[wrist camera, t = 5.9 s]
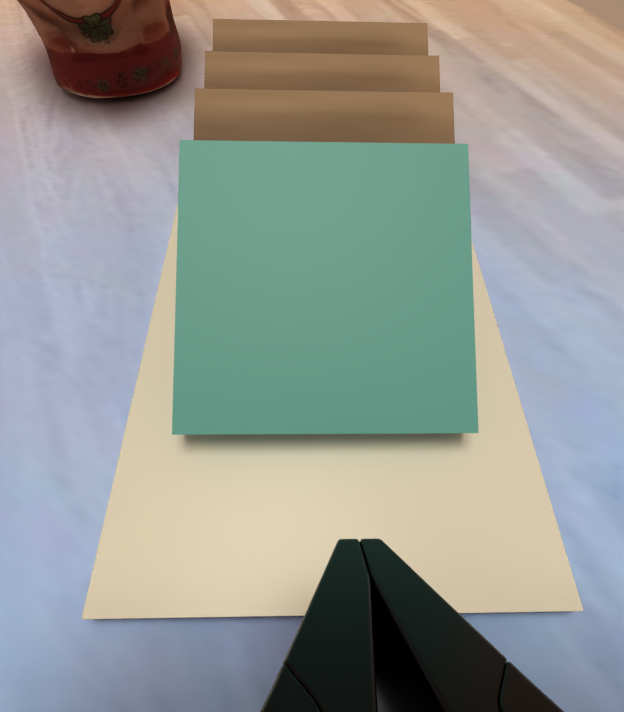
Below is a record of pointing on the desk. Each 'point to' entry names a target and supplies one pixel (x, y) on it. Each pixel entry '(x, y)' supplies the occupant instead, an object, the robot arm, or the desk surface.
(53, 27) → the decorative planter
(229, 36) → the domino
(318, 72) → the brown flat square block
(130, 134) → the desk surface
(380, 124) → the domino
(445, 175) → the domino
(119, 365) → the desk surface
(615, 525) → the desk surface
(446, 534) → the board
